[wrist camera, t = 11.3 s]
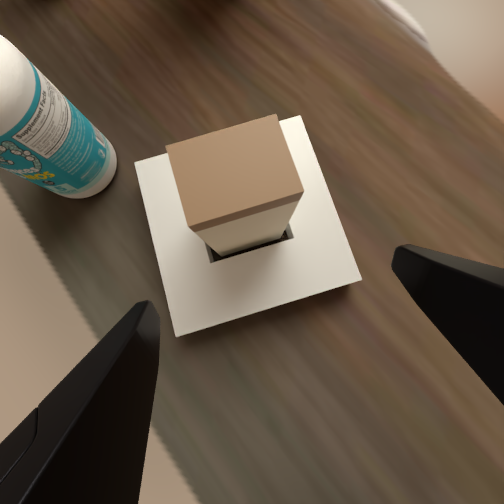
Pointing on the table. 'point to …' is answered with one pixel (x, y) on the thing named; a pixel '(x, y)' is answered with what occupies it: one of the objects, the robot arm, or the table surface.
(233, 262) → the socket plate
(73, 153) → the pill bottle
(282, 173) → the tan topped cream pillar
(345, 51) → the table surface
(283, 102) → the table surface
